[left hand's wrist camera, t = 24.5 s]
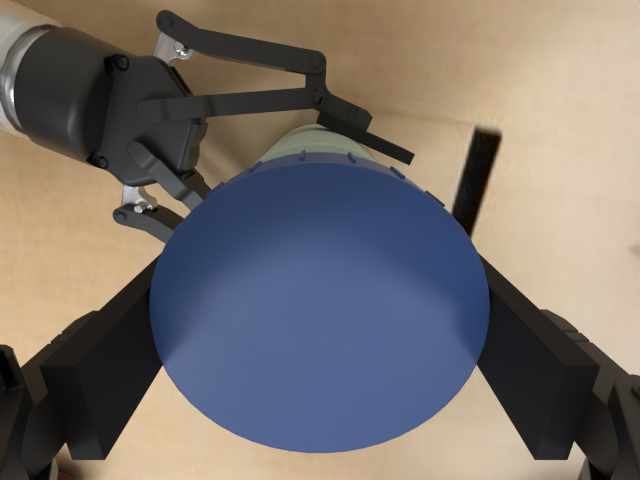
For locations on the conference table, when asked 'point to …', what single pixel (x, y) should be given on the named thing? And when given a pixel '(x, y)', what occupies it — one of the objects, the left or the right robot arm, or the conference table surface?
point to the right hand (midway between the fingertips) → (374, 220)
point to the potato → (64, 476)
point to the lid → (319, 304)
